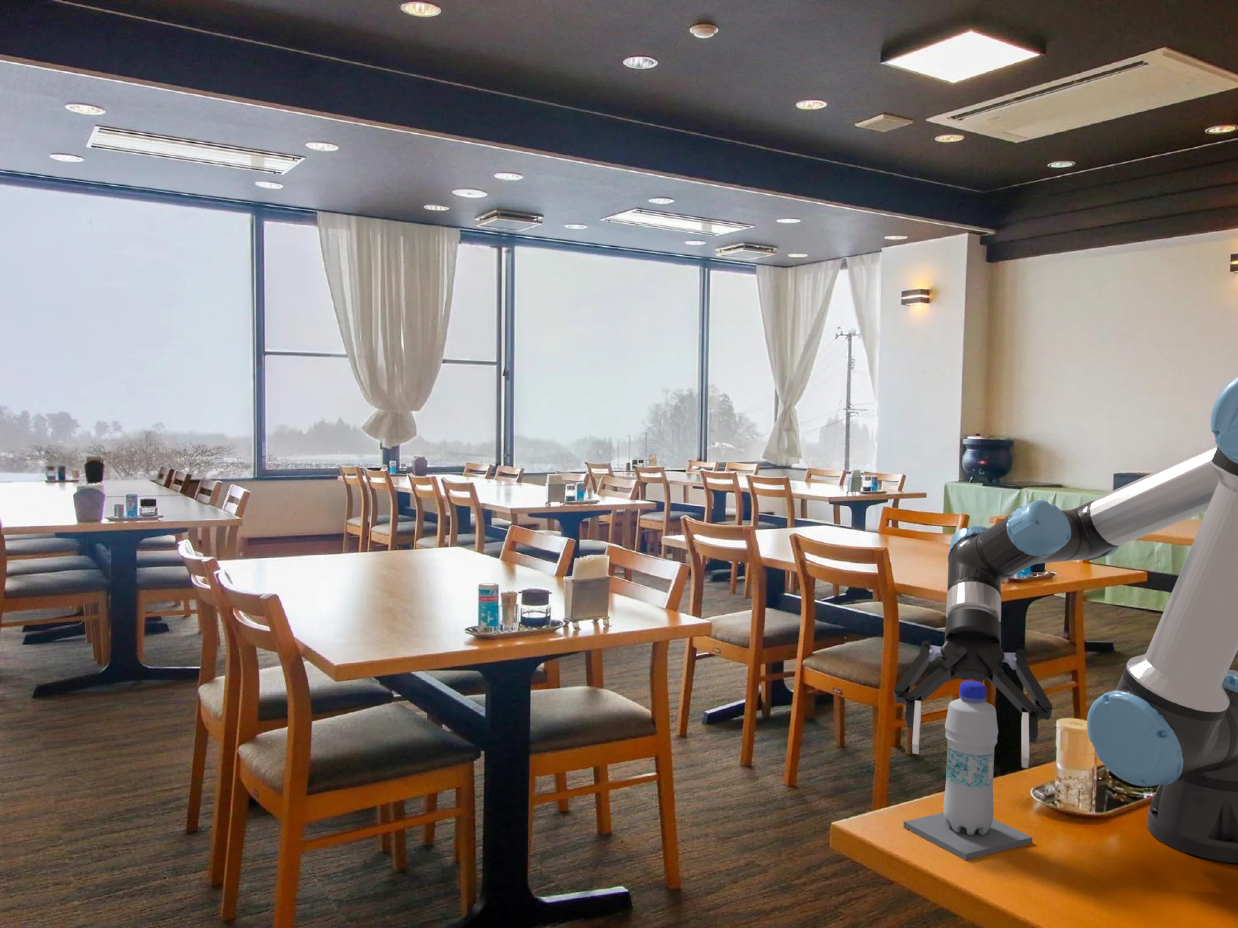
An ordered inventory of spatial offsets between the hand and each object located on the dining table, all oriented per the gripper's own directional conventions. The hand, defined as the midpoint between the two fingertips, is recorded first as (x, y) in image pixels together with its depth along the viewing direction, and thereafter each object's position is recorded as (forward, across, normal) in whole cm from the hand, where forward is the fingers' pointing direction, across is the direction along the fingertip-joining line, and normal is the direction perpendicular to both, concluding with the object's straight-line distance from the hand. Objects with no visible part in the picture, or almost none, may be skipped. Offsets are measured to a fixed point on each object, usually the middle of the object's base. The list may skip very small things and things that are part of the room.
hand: (969, 755), depth 127 cm
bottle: (+6, 0, -9) cm, 11 cm away
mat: (+7, 0, -10) cm, 12 cm away
